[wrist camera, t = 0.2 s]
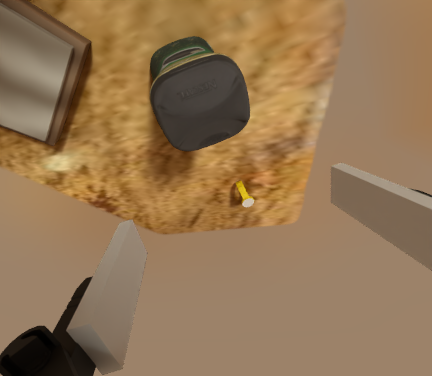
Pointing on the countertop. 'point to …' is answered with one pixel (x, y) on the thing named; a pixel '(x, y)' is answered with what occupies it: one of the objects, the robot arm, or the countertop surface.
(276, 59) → the countertop surface
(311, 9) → the countertop surface
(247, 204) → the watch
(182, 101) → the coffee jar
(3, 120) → the plinth
